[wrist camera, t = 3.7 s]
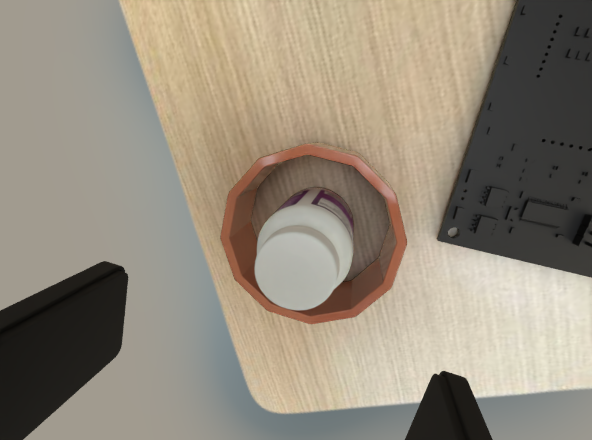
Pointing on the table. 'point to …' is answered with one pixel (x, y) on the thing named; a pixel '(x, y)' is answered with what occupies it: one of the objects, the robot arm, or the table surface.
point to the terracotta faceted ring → (348, 294)
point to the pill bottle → (305, 249)
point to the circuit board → (533, 145)
